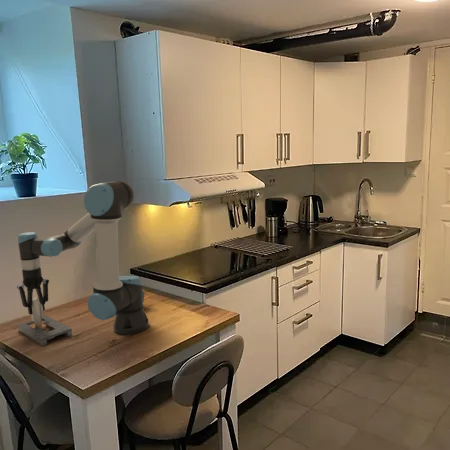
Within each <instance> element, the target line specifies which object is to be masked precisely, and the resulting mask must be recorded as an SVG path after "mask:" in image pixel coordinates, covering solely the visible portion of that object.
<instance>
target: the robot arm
mask: <svg viewBox="0 0 450 450" xmlns="http://www.w3.org/2000/svg"><path fill="white" fill-rule="evenodd" d="M134 199H135V192H134V189H133V188H132V186H131V185H130V184H129V183H128V182H126V181H123V180H115V181H108V182H100V183H99V182H98V183H97V184H93V185H91V186H90V187H88V189H86V191H85V192H84V196H83V205H84V208H85V209H86V211H87V213H86V214H85V215H84V216H82V217H81V218H80V219H78V220H77V222H75V223H74V224H73V225H72V226H70V227H69V228H68V229H67V230H66V231H64V232H63V233H60V234H56V235H53V236H52V235H51V236H48V237H38V235H37V232H33V231H31V232H30V231H27V232H23V233H22V232H21V233H20V234H18V235H17V242H18V243H17V245H18V249H19V258H20V265H21V272H22V273H21V274H22V283H21V284H20V285H17V287H16V288H17V290H18V292H19V295H20V300H21V304H22V307H24V308H27V311H28V312H27V313H28V315H30V318H31V320H32V321H34V322H35V321H36V318H35V310H34V307H33V306H32V299H33V292H34V290H35V291H36V295H37V298H39V303H40V311H41V319H44V316H45V315H44V311H45V304H46V303H47V302H49V283H50V280H49V279H47V278H43V276H42V268H41V259H40V257H49V258H51V257H58V256H59V255H60V254H61V253H62V252H65V251H68V250H71V249H72V250H73V249H76V248H77V247H79V246H80V245H81V244H82V241H83V240H84V239H86V238H87V237H88V236H89V235H91V234H92V233H93V232H94V231H95V233H94V234H95V260H96V262H95V263H96V265H95V266H96V267H95V268H96V281H95V282H94V283H93V285H92V291H93V292H92V294H90V296H89V297H88V299H87V304H86V305H87V307H88V310H89V312H90V314H92V315H93V316H94V318H96V319H97V320H101V321H106V320H109V319H112V318H114V317H115V318H114V320H113V325H112V326H113V332H114V333H116V334H119V335H134V334H138V333H142V332H144V331H146V330H147V329H148V328H149V327H150V323H149V322H150V321H149V319H148V317H147V314H146V312H145V310H144V302H143V297H142V290H143V287H142V286H143V284H142V280H141V277H139V276H136V275H120V269H119V268H120V267H119V263H120V261H119V259H120V258H119V223H118V222H119V221H120V220H121V219H122V216H123V215H122V213H123V212H124V211H125V210H127V209H128V208H129V207H131V206H132V204H133V203H134ZM41 285H42V287H41ZM25 288H26V291H27V295H26V291H25Z"/></svg>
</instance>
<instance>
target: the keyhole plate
mask: <svg viewBox="0 0 450 450" xmlns="http://www.w3.org/2000/svg"><path fill="white" fill-rule="evenodd" d="M42 324H46V328H49V329H51V330H48V331H46V329H45V330H43V329H41V328H39V327H35V328H32V326H31V325H35V323H34V321H32V319H31V320H29V321H28V320H27V321H25V322H22V323H19V324H17V326H18V332H20V333H21V334H23V335H25V336H26V337H28V338H30V339H31V340H33V341H34V342H36V343H37V344H39V345H40V346H42V347H43V346H46V345H48V340H49V339H51V338H54V337H57V336H60V335H64V336H66V337H71V336H73V331H72V327H69V326H67V325H65V324H64V323H62V322H60V321H58V320H55V319H53V318H52V317H50V316H48V315H44V319H42Z"/></svg>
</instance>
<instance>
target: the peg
mask: <svg viewBox="0 0 450 450" xmlns="http://www.w3.org/2000/svg"><path fill="white" fill-rule="evenodd" d="M32 306H33V307H34V310H35V318H36V321H35V322H34V324H33V326H31V327H32V328H35V327H39V328H41V329H43V330H45V331H46V329H47V326H46V324H44V323H43V321H42V319H41V311H40V302H39V298H38V297H34V298H33V297H32Z"/></svg>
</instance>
